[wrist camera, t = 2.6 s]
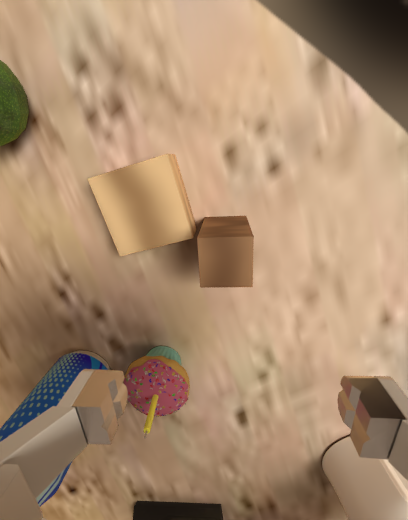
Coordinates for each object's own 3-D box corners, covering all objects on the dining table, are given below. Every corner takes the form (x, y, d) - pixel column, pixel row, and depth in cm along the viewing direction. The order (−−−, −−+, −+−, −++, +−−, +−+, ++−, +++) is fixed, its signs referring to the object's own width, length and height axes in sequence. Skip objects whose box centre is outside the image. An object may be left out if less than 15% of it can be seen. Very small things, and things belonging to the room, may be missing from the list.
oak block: (175, 154, 26) (167, 153, 22) (197, 228, 28) (192, 238, 25) (106, 176, 27) (87, 178, 23) (133, 244, 30) (120, 256, 26)
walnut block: (245, 215, 27) (253, 236, 20) (245, 254, 29) (252, 287, 21) (204, 217, 28) (197, 237, 20) (206, 255, 29) (200, 287, 22)
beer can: (76, 392, 40) (-12, 531, 25) (50, 351, 37) (-68, 480, 22) (124, 384, 38) (59, 526, 23) (100, 341, 35) (10, 471, 21)
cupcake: (148, 325, 34) (110, 407, 23) (204, 350, 34) (194, 441, 23) (127, 367, 37) (85, 457, 26) (179, 389, 38) (160, 486, 27)
